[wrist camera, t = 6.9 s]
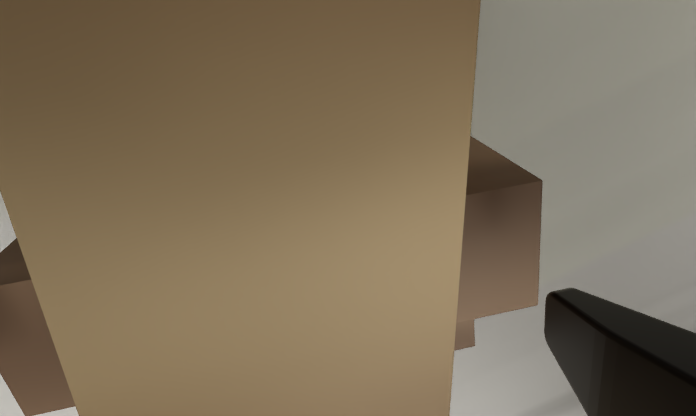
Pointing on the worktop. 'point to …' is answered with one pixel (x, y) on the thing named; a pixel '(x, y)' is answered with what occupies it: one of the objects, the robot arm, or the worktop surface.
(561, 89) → the worktop surface
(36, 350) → the walnut board
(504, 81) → the worktop surface
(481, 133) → the worktop surface
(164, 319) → the oak bar
